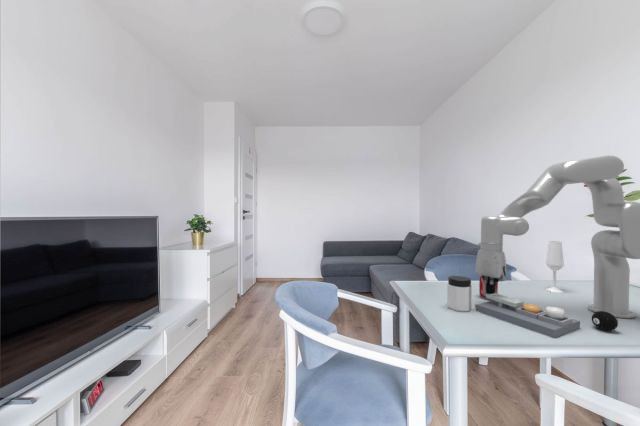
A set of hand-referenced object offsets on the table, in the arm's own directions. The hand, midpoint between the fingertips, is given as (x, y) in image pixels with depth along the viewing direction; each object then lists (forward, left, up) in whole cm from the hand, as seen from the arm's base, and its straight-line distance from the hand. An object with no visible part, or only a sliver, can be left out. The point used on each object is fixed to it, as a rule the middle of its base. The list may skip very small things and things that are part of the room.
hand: (490, 293), depth 114 cm
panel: (0, +12, -6) cm, 14 cm away
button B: (0, +15, -3) cm, 15 cm away
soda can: (-12, -9, -6) cm, 16 cm away
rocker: (0, +5, -1) cm, 5 cm away
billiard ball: (-14, +29, -6) cm, 33 cm away
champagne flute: (-52, -2, -6) cm, 53 cm away
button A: (0, +22, -2) cm, 22 cm away
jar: (+11, -6, -6) cm, 14 cm away
